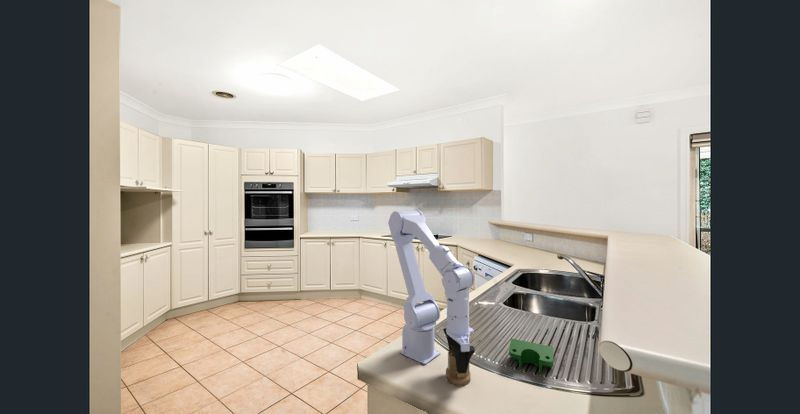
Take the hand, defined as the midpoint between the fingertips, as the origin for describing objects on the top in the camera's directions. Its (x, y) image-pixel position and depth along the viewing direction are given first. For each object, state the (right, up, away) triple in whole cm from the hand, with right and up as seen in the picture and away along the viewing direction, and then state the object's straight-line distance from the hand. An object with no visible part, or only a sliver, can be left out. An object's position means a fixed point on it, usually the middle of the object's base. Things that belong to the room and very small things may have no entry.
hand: (458, 363), depth 80 cm
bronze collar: (0, -2, 0) cm, 2 cm away
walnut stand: (0, -4, 0) cm, 4 cm away
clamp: (+21, -4, +5) cm, 22 cm away
